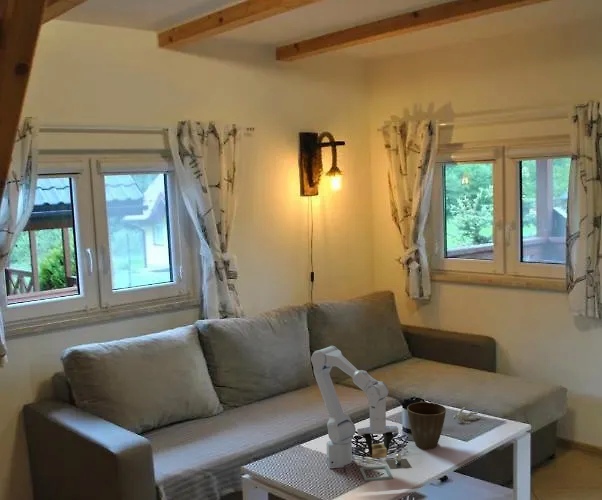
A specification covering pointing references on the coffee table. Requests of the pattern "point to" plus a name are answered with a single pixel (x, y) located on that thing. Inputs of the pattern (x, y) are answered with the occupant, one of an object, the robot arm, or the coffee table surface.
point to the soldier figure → (465, 416)
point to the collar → (379, 450)
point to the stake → (398, 463)
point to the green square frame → (376, 477)
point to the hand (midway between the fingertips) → (378, 453)
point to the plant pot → (426, 423)
